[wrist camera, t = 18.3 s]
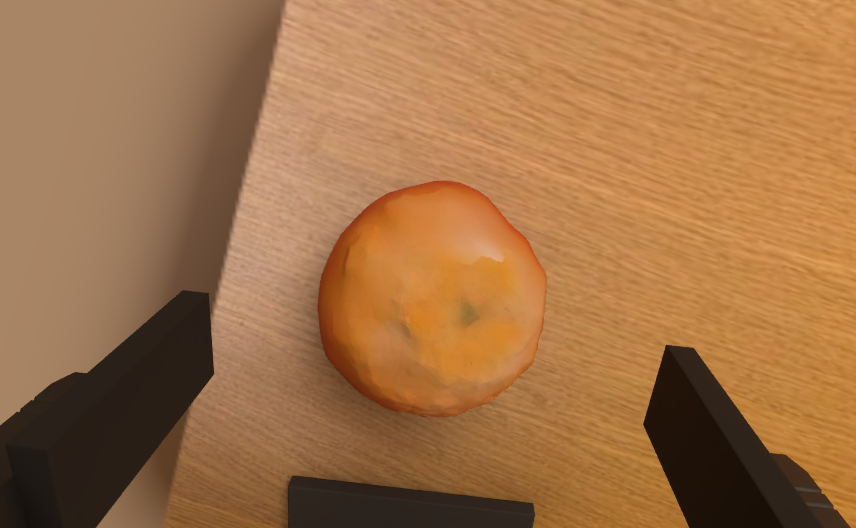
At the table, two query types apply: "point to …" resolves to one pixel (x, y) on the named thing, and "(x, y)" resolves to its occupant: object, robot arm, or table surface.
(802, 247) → the table surface
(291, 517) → the mat
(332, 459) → the table surface
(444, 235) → the fruit
